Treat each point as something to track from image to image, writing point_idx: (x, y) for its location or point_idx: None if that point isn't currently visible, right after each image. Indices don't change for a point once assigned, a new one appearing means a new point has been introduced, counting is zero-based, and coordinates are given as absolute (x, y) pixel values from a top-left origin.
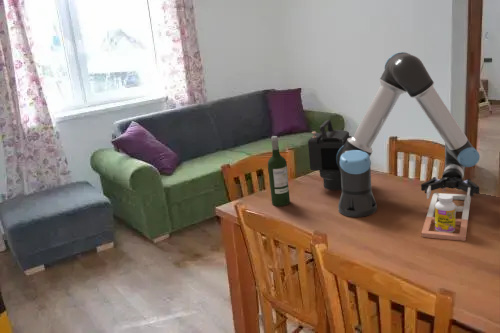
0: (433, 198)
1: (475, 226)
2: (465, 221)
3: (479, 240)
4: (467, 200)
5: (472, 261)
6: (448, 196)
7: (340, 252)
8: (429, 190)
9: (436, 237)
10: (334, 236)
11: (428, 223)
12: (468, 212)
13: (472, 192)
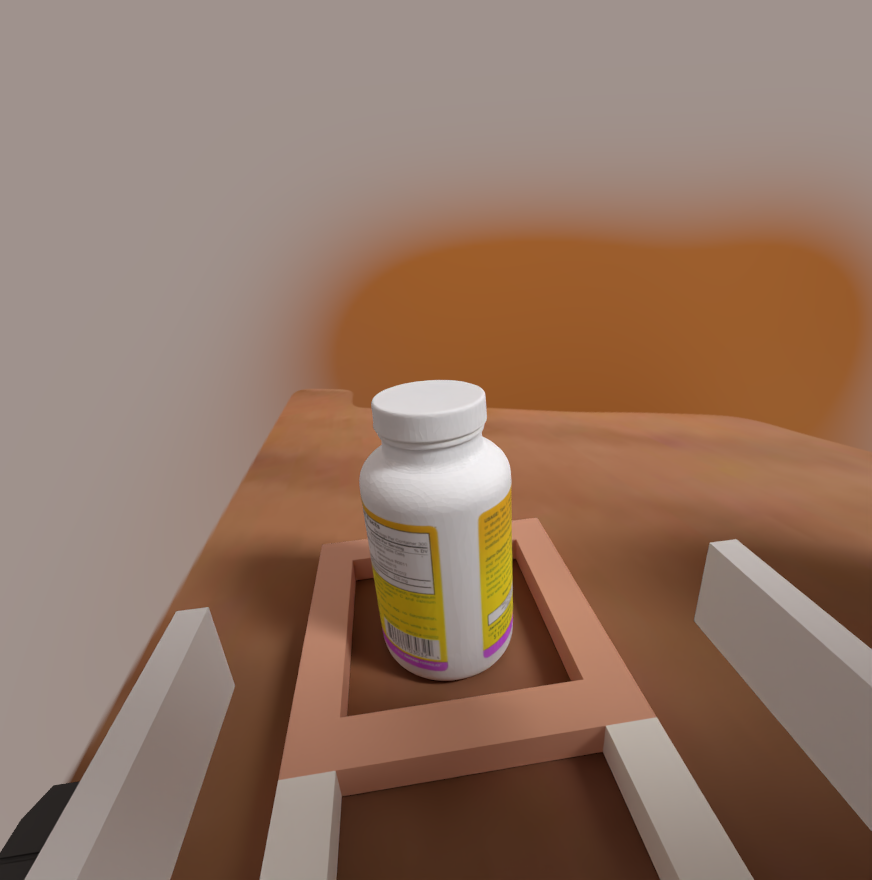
0: None
1: (229, 763)
2: (304, 729)
3: (254, 587)
4: (226, 680)
5: (312, 474)
6: (405, 398)
7: (703, 415)
8: (763, 599)
9: None
10: (849, 452)
11: (562, 609)
12: None
13: (54, 794)
